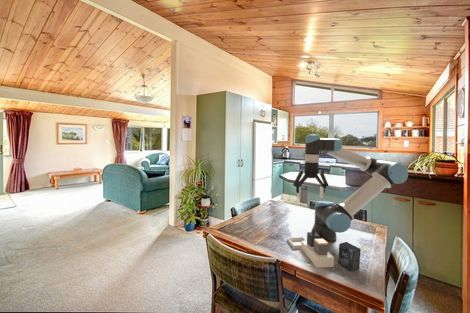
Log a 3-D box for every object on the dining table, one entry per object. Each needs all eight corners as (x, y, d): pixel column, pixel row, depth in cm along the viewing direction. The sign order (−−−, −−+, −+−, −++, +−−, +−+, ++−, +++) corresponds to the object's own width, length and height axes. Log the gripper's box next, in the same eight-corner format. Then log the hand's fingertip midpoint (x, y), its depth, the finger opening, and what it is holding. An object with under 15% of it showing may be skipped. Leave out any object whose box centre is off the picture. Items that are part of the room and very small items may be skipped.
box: (337, 263, 110) (338, 243, 110) (345, 261, 113) (346, 241, 112) (351, 272, 103) (352, 250, 102) (359, 269, 106) (361, 248, 105)
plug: (322, 257, 114) (323, 238, 113) (327, 262, 109) (328, 243, 109) (313, 257, 114) (314, 238, 113) (318, 262, 109) (318, 243, 108)
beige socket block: (327, 248, 126) (328, 239, 126) (346, 266, 108) (347, 256, 108) (301, 249, 124) (301, 240, 124) (316, 267, 106) (316, 257, 106)
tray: (303, 240, 135) (303, 236, 135) (310, 249, 125) (310, 244, 125) (287, 241, 134) (287, 237, 134) (293, 249, 124) (293, 245, 123)
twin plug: (314, 249, 123) (315, 226, 122) (318, 253, 118) (320, 230, 117) (306, 249, 122) (307, 227, 121) (310, 254, 117) (311, 230, 116)
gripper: (328, 161, 129) (327, 196, 131) (288, 161, 126) (286, 196, 128) (336, 162, 122) (334, 199, 123) (293, 162, 119) (291, 200, 121)
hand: (310, 198), depth 126 cm, fingers open, 13 cm apart
